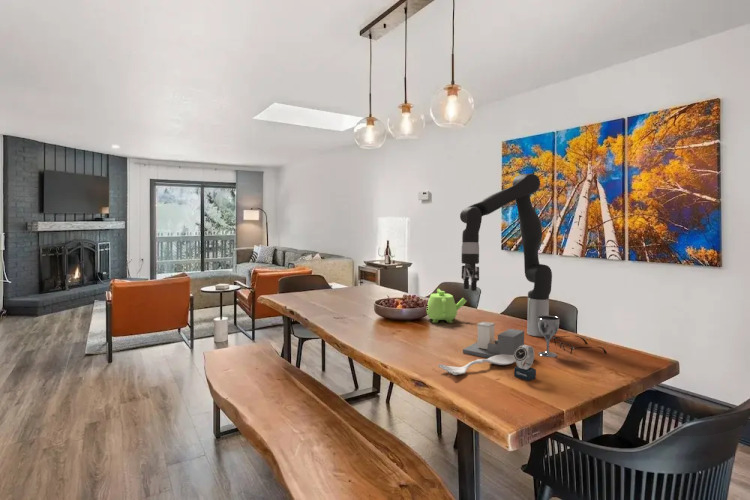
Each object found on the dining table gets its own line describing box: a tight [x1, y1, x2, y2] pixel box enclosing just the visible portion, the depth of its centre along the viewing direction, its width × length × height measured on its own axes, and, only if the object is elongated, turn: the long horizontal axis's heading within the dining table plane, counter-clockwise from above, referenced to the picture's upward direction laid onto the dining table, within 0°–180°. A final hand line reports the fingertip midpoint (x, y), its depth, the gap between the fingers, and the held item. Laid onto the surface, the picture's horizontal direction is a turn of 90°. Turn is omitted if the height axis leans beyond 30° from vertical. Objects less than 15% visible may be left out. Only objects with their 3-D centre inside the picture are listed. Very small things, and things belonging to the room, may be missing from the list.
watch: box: [513, 344, 537, 382], centre depth 145 cm, size 6×8×11 cm
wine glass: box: [537, 315, 560, 358], centre depth 169 cm, size 8×8×15 cm
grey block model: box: [462, 328, 525, 359], centre depth 172 cm, size 20×15×10 cm
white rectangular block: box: [477, 321, 496, 349], centre depth 174 cm, size 5×5×10 cm
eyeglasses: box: [552, 335, 607, 355], centre depth 177 cm, size 16×16×4 cm
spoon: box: [438, 354, 516, 376], centre depth 154 cm, size 9×32×4 cm, turn 117°
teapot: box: [426, 288, 468, 323], centre depth 230 cm, size 25×22×16 cm
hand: (469, 289), depth 186 cm, fingers open, 8 cm apart
